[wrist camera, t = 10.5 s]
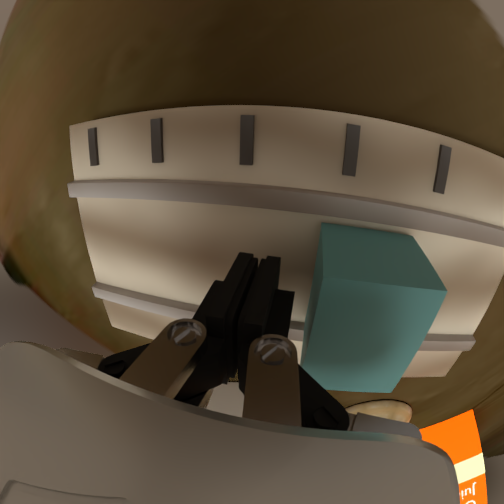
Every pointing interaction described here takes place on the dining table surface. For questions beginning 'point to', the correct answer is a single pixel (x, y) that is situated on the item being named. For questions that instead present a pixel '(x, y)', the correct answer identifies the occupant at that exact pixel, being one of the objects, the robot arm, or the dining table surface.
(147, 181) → the count board
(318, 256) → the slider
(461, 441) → the orange juice
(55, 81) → the dining table surface
